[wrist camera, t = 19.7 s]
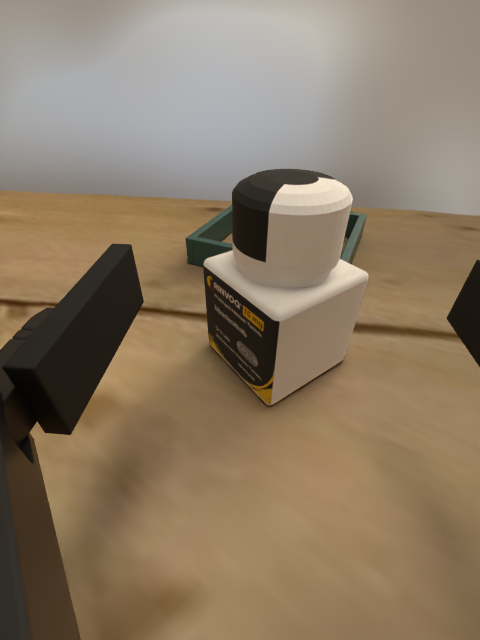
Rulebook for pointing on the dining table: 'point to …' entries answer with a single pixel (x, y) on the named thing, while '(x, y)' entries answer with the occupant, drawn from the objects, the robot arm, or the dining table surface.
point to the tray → (217, 229)
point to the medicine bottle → (284, 282)
